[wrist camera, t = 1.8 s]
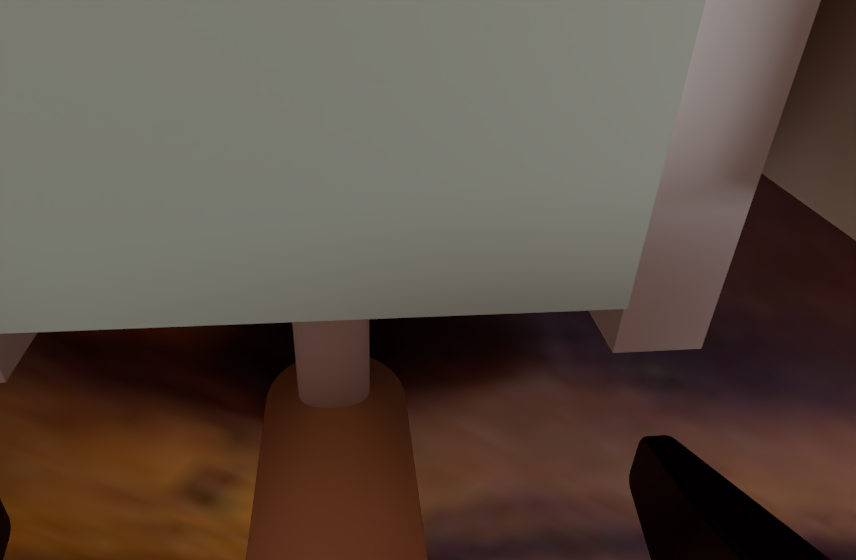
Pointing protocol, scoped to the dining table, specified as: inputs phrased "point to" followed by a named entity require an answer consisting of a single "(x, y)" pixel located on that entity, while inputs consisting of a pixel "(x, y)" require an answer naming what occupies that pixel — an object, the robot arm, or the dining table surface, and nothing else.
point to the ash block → (822, 121)
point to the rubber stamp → (330, 197)
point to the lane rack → (690, 175)
